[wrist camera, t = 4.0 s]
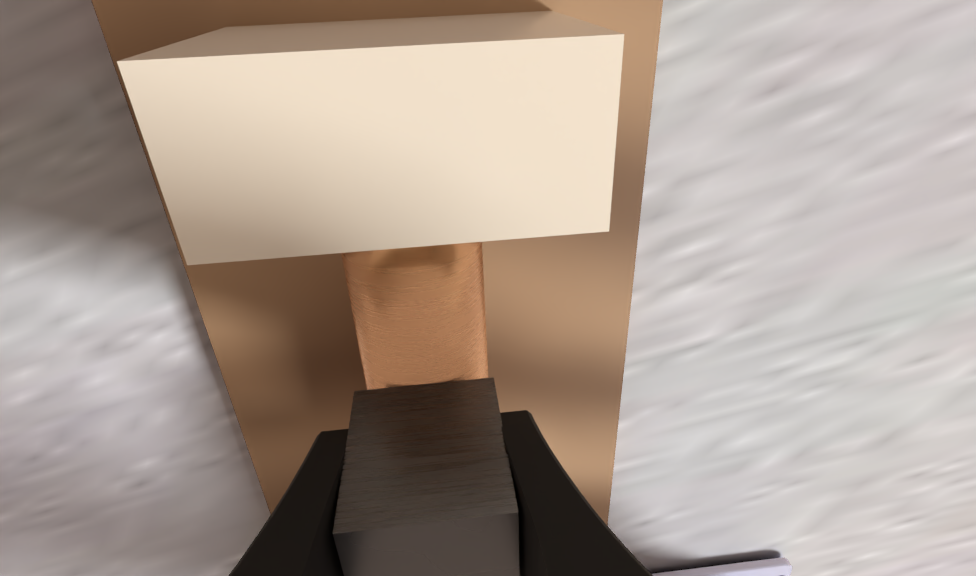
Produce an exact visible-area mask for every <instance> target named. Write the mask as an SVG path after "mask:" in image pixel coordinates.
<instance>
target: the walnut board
mask: <svg viewBox="0 0 976 576" xmlns="http://www.w3.org/2000/svg"><path fill="white" fill-rule="evenodd" d="M92 3H93V6H94V9H95V12H96V15H97V18H98V21H99V23H100V26H101V29H102V32H103V35H104V38H105V41H106V43H107V46H108V49H109V52H110V55H111V58H112V61H113V64H114V66H115V69H116V72H117V75H118V78H119V81H120V84H121V86H122V89H123V92H124V95H125V98H126V101H127V104H128V107H129V109H130V112H131V115H132V118H133V121H134V124H135V127H136V129H137V132H138V135H139V138H140V141H141V144H142V147H143V149H144V152H145V155H146V158H147V161H148V164H149V167H150V170H151V172H152V175H153V178H154V181H155V184H156V187H157V190H158V192H159V195H160V198H161V201H162V204H163V207H164V210H165V213H166V215H167V218H168V221H169V224H170V227H171V230H172V233H173V235H174V238H175V241H176V244H177V247H178V250H179V253H180V256H181V258H182V261H183V264H184V267H185V270H186V273H187V276H188V278H189V281H190V284H191V287H192V290H193V293H194V296H195V299H196V301H197V304H198V307H199V310H200V313H201V316H202V319H203V321H204V324H205V327H206V330H207V333H208V336H209V339H210V342H211V344H212V347H213V350H214V353H215V356H216V359H217V362H218V364H219V367H220V370H221V373H222V376H223V379H224V382H225V385H226V387H227V390H228V393H229V396H230V399H231V402H232V405H233V407H234V410H235V413H236V416H237V419H238V422H239V425H240V427H241V430H242V433H243V436H244V439H245V442H246V445H247V448H248V450H249V453H250V456H251V459H252V462H253V465H254V468H255V470H256V473H257V476H258V479H259V482H260V485H261V488H262V491H263V493H264V496H265V499H266V502H267V505H268V508H269V511H270V513H271V514H272V512H273V511H274V509H275V508H276V506H277V505H278V503H279V501H280V500H281V498H282V497H283V495H284V493H285V492H286V490H287V489H288V487H289V485H290V483H291V482H292V480H293V478H294V477H295V475H296V473H297V472H298V470H299V468H300V466H301V465H302V463H303V461H304V459H305V457H306V456H307V454H308V452H309V450H310V448H311V446H312V444H313V443H314V441H315V439H316V437H317V435H318V434H319V433H320V432H321V431H330V430H340V429H349V422H350V415H351V409H352V402H353V395H354V391H359V390H367V388H366V383H365V377H364V372H363V367H362V361H361V356H360V351H359V345H358V340H357V335H356V329H355V324H354V319H353V313H352V308H351V303H350V298H349V292H348V287H347V282H346V276H345V271H344V266H343V260H342V255H341V253H335V254H322V255H310V256H297V257H285V258H272V259H260V260H247V261H235V262H223V263H210V264H198V265H187V263H186V260H185V257H184V255H183V252H182V249H181V246H180V243H179V240H178V237H177V234H176V231H175V229H174V226H173V223H172V220H171V217H170V214H169V211H168V208H167V205H166V203H165V200H164V197H163V194H162V191H161V188H160V185H159V182H158V179H157V176H156V174H155V171H154V168H153V165H152V162H151V159H150V156H149V153H148V150H147V148H146V145H145V142H144V139H143V136H142V133H141V130H140V127H139V124H138V121H137V119H136V116H135V113H134V110H133V107H132V104H131V101H130V98H129V95H128V93H127V90H126V87H125V84H124V81H123V78H122V75H121V72H120V69H119V67H118V64H117V61H119V60H123V59H126V58H129V57H132V56H135V55H138V54H142V53H145V52H148V51H151V50H154V49H158V48H161V47H164V46H167V45H170V44H173V43H177V42H180V41H183V40H186V39H189V38H193V37H196V36H199V35H202V34H205V33H208V32H212V31H215V30H218V29H221V28H224V27H234V26H254V25H274V24H294V23H314V22H334V21H354V20H374V19H394V18H414V17H434V16H454V15H474V14H494V13H514V12H534V11H555V12H558V13H561V14H564V15H567V16H571V17H574V18H577V19H580V20H583V21H586V22H589V23H592V24H595V25H598V26H601V27H604V28H607V29H610V30H613V31H616V32H619V33H623V34H624V45H623V58H622V71H621V84H620V97H619V110H618V123H617V136H616V149H615V162H614V175H613V188H612V200H611V213H610V226H609V232H596V233H584V234H571V235H559V236H546V237H534V238H521V239H509V240H496V241H484V242H482V254H483V275H484V296H485V317H486V339H487V360H488V378H491V377H494V382H495V388H496V393H497V398H498V404H499V409H500V413H502V412H512V411H521V410H527V411H529V412H530V413H531V414H532V416H533V418H534V420H535V422H536V424H537V426H538V428H539V430H540V431H541V433H542V435H543V437H544V438H545V440H546V442H547V443H548V445H549V447H550V448H551V450H552V451H553V453H554V455H555V456H556V458H557V459H558V461H559V462H560V464H561V465H562V467H563V468H564V470H565V471H566V473H567V474H568V475H569V477H570V478H571V480H572V481H573V482H574V484H575V485H576V487H577V488H578V489H579V491H580V492H581V493H582V495H583V496H584V497H585V499H586V500H587V501H588V503H589V504H590V505H591V506H592V508H593V509H594V510H595V511H596V513H597V514H598V515H599V516H600V518H601V519H602V520H603V521H604V523H605V524H606V525H607V524H608V514H609V505H610V495H611V486H612V476H613V467H614V457H615V448H616V439H617V429H618V420H619V410H620V401H621V391H622V382H623V372H624V363H625V354H626V344H627V335H628V325H629V316H630V306H631V297H632V287H633V278H634V269H635V259H636V250H637V240H638V231H639V221H640V212H641V202H642V193H643V184H644V174H645V165H646V155H647V146H648V136H649V127H650V117H651V108H652V99H653V89H654V80H655V70H656V61H657V51H658V42H659V32H660V23H661V14H662V4H663V0H92Z"/></svg>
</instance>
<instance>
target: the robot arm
mask: <svg viewBox="0 0 976 576" xmlns="http://www.w3.org/2000/svg"><path fill="white" fill-rule="evenodd" d="M500 415H501V420H502V426H503V427H501V429H502V434H503V440H504V444H505V447H506V451H507V454H508V458H509V464H510V469H511V475H512V480H513V486H514V491H515V496H516V502H517V507H518V518H519V576H790V574H791V571H792V566H791V564H790V562H789V561H788V559H786V558H772V559H764V560H756V561H748V562H741V563H733V564H725V565H717V566H709V567H701V568H694V569H686V570H678V571H670V572H662V573H654V574H651V573H650V572H649V571H648V570H647V569H646V568H645V567H644V566H643V565H642V564H641V563H640V562H639V561H638V560H637V559H636V558H635V556H634V555H633V554H632V553H631V552H630V551H629V550H628V549H627V548H626V547H625V546H624V545H623V543H622V542H621V541H620V540H619V539H618V538H617V537H616V536H615V534H614V533H613V532H612V531H611V530H610V528H609V527H608V526H607V525H606V524H605V523H604V521H603V520H602V519H601V518H600V516H599V515H598V514H597V513H596V511H595V510H594V509H593V508H592V506H591V505H590V504H589V503H588V501H587V500H586V499H585V497H584V496H583V495H582V493H581V492H580V491H579V489H578V488H577V487H576V485H575V484H574V482H573V481H572V480H571V478H570V477H569V475H568V474H567V473H566V471H565V470H564V468H563V467H562V465H561V464H560V462H559V461H558V459H557V458H556V456H555V455H554V453H553V451H552V450H551V448H550V447H549V445H548V443H547V442H546V440H545V438H544V437H543V435H542V433H541V431H540V430H539V428H538V426H537V424H536V422H535V420H534V418H533V416H532V414H531V413H530V412H529V411H527V410H521V411H512V412H502V413H500ZM347 435H348V429H340V430H330V431H321V432H320V433H319V434H318V435H317V437H316V439H315V441H314V443H313V444H312V446H311V448H310V450H309V452H308V454H307V456H306V457H305V459H304V461H303V463H302V465H301V466H300V468H299V470H298V472H297V473H296V475H295V477H294V478H293V480H292V482H291V483H290V485H289V487H288V489H287V490H286V492H285V493H284V495H283V497H282V498H281V500H280V501H279V503H278V505H277V506H276V508H275V509H274V511H273V512H272V514H271V516H270V517H269V519H268V520H267V522H266V523H265V525H264V526H263V528H262V529H261V531H260V532H259V534H258V535H257V537H256V538H255V539H254V541H253V542H252V544H251V545H250V547H249V548H248V549H247V551H246V552H245V554H244V555H243V557H242V558H241V559H240V561H239V562H238V564H237V565H236V566H235V568H234V569H233V570H232V572H231V573H230V574H229V576H344V574H343V570H342V567H341V563H340V559H339V556H338V552H337V548H336V545H335V541H334V537H333V528H334V521H335V515H336V508H337V502H338V495H339V488H340V482H341V475H342V468H343V462H344V456H345V449H346V442H347Z"/></svg>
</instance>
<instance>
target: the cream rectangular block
mask: <svg viewBox="0 0 976 576" xmlns="http://www.w3.org/2000/svg"><path fill="white" fill-rule="evenodd" d="M623 45H624V34H623V33H619V32H616V31H613V30H610V29H607V28H604V27H601V26H598V25H595V24H592V23H589V22H586V21H583V20H580V19H577V18H574V17H571V16H567V15H564V14H561V13H558V12H555V11H534V12H514V13H494V14H474V15H454V16H434V17H414V18H394V19H374V20H354V21H334V22H314V23H294V24H274V25H254V26H234V27H224V28H221V29H218V30H215V31H212V32H208V33H205V34H202V35H199V36H196V37H193V38H189V39H186V40H183V41H180V42H177V43H173V44H170V45H167V46H164V47H161V48H158V49H154V50H151V51H148V52H145V53H142V54H138V55H135V56H132V57H129V58H126V59H123V60H119V61H117V64H118V67H119V69H120V72H121V75H122V78H123V81H124V84H125V87H126V90H127V93H128V95H129V98H130V101H131V104H132V107H133V110H134V113H135V116H136V119H137V121H138V124H139V127H140V130H141V133H142V136H143V139H144V142H145V145H146V148H147V150H148V153H149V156H150V159H151V162H152V165H153V168H154V171H155V174H156V176H157V179H158V182H159V185H160V188H161V191H162V194H163V197H164V200H165V203H166V205H167V208H168V211H169V214H170V217H171V220H172V223H173V226H174V229H175V231H176V234H177V237H178V240H179V243H180V246H181V249H182V252H183V255H184V257H185V260H186V263H187V265H198V264H210V263H223V262H235V261H247V260H260V259H272V258H285V257H297V256H310V255H322V254H335V253H347V252H360V251H372V250H384V249H397V248H409V247H422V246H434V245H447V244H459V243H472V242H484V241H496V240H509V239H521V238H534V237H546V236H559V235H571V234H584V233H596V232H609V226H610V213H611V200H612V188H613V175H614V162H615V149H616V136H617V123H618V110H619V97H620V84H621V71H622V58H623Z"/></svg>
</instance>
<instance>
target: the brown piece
mask: <svg viewBox="0 0 976 576" xmlns="http://www.w3.org/2000/svg"><path fill="white" fill-rule="evenodd" d="M341 255H342V260H343V266H344V271H345V276H346V282H347V287H348V292H349V298H350V303H351V308H352V313H353V319H354V324H355V329H356V335H357V340H358V345H359V351H360V356H361V361H362V367H363V372H364V377H365V383H366V388H367V390H359V391H354V395H353V402H352V409H351V415H350V422H349V429H348V435H347V442H346V449H345V456H344V462H343V468H342V475H341V482H340V488H339V495H338V502H337V508H336V515H335V521H334V528H333V537H334V541H335V545H336V548H337V552H338V556H339V559H340V563H341V567H342V570H343V574H344V576H519V518H518V507H517V502H516V496H515V491H514V486H513V480H512V475H511V469H510V464H509V458H508V454H507V451H506V447H505V444H504V440H503V434H502V429H501V427H503V426H502V420H501V415H500V409H499V404H498V398H497V393H496V388H495V382H494V377H491V378H488V360H487V339H486V317H485V296H484V275H483V254H482V242H472V243H459V244H447V245H434V246H422V247H409V248H397V249H384V250H372V251H360V252H347V253H341Z"/></svg>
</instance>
